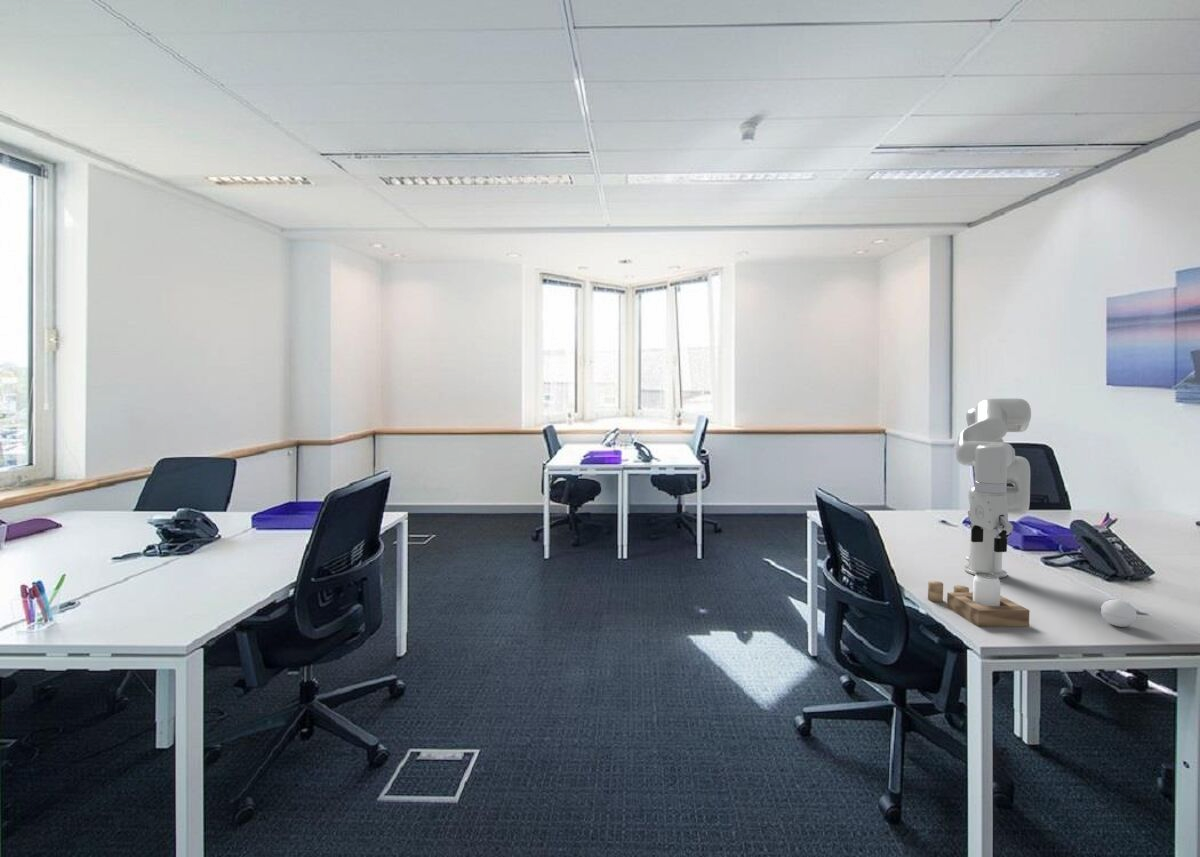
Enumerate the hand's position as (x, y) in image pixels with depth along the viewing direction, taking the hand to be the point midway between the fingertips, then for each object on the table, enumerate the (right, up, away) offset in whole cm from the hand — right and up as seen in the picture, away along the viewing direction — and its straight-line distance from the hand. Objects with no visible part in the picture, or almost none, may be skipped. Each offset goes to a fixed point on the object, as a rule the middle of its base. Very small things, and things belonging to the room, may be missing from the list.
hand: (988, 546), depth 160 cm
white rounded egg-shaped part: (+30, -21, -7) cm, 37 cm away
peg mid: (-7, -20, +14) cm, 25 cm away
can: (0, -21, +1) cm, 21 cm away
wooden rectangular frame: (0, -20, +1) cm, 20 cm away
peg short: (+1, -20, +14) cm, 24 cm away
